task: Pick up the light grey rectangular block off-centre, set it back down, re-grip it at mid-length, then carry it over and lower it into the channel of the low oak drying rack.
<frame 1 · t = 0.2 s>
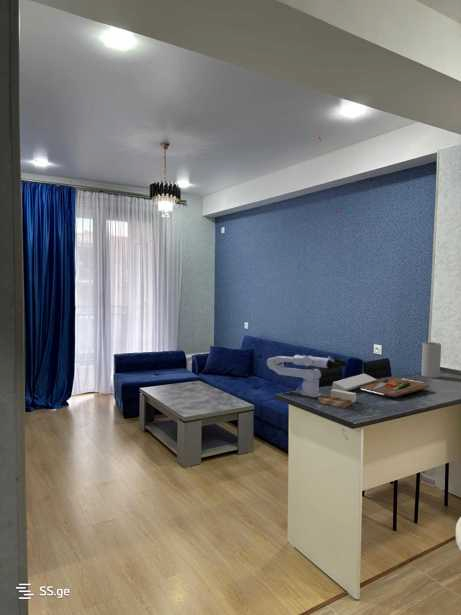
hand: (343, 364, 235), 21 cm above the countertop, tool horizontal, fingers open, 7 cm apart
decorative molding: (355, 386, 267), point 1 cm above the countertop, touching chopping board
cylinder vase: (430, 376, 307), on the countertop
oak rack: (334, 403, 232), on the countertop
light grey rectangular block: (343, 400, 240), on the countertop
chopping board: (393, 387, 262), point 2 cm above the countertop, touching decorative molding
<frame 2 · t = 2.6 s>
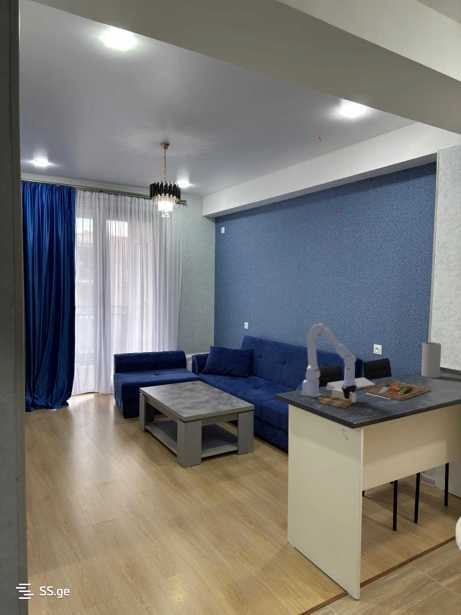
hand: (348, 398, 238), 1 cm above the countertop, tool pointing down, fingers open, 5 cm apart
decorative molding: (350, 389, 269), on the countertop
chopping board: (396, 392, 262), on the countertop
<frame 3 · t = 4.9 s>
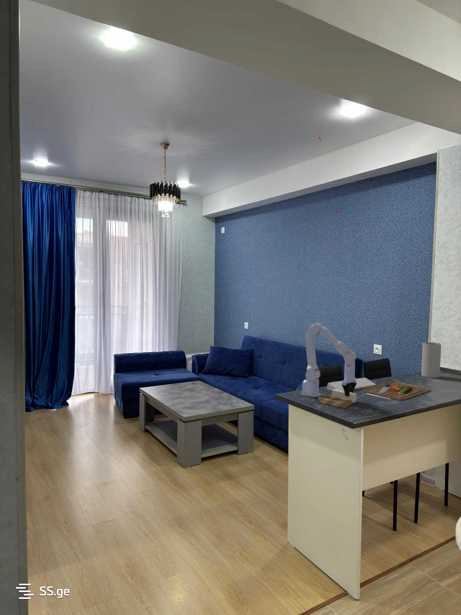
hand: (349, 395, 238), 3 cm above the countertop, tool pointing down, fingers closed on light grey rectangular block, 4 cm apart
light grey rectangular block: (343, 400, 240), on the countertop, touching gripper
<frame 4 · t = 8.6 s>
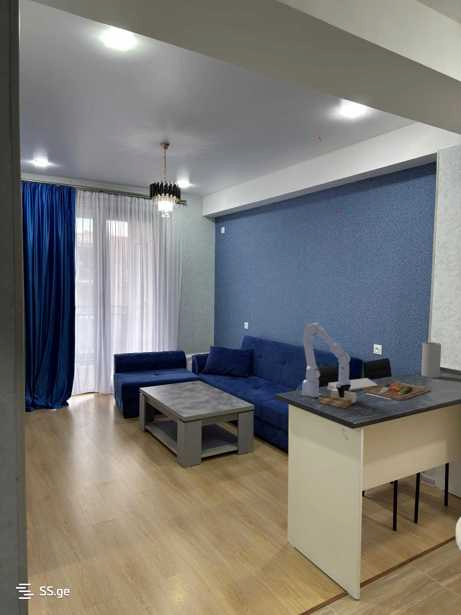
hand: (343, 397, 240), 1 cm above the countertop, tool pointing down, fingers closed on light grey rectangular block, 4 cm apart
light grey rectangular block: (343, 399, 240), on the countertop, touching gripper
when the fingers open (3 cm above the countertop, at t = 11.5 s): light grey rectangular block stays where it is, resting on oak rack.
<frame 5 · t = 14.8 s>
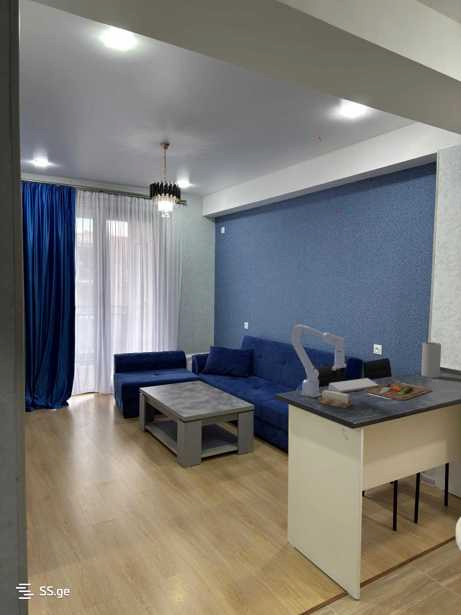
hand: (339, 380, 244), 10 cm above the countertop, tool pointing down, fingers open, 7 cm apart
light grey rectangular block: (334, 401, 231), point 1 cm above the countertop, touching oak rack
at the end: light grey rectangular block 0.1 cm off-centre on the oak rack, point 1.3 cm above the oak rack's base; light grey rectangular block tilted 0°; the gripper is holding nothing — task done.
